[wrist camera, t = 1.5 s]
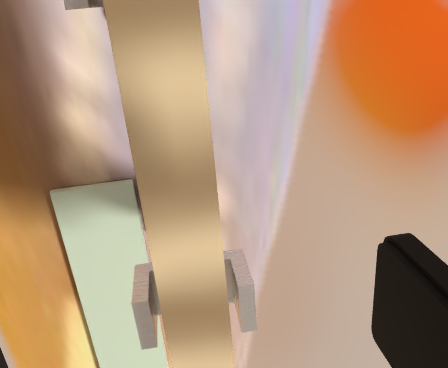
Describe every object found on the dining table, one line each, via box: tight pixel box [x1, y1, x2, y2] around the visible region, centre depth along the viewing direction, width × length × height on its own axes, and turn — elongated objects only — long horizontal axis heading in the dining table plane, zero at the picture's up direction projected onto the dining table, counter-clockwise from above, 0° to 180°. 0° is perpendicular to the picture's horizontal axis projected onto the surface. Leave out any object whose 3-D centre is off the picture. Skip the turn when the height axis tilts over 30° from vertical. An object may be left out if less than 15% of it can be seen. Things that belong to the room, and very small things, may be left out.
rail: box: [103, 0, 235, 368], centre depth 18 cm, size 22×3×4 cm, turn 5°
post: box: [131, 249, 257, 350], centre depth 26 cm, size 5×6×13 cm
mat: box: [50, 179, 169, 368], centre depth 35 cm, size 23×6×1 cm, turn 5°
